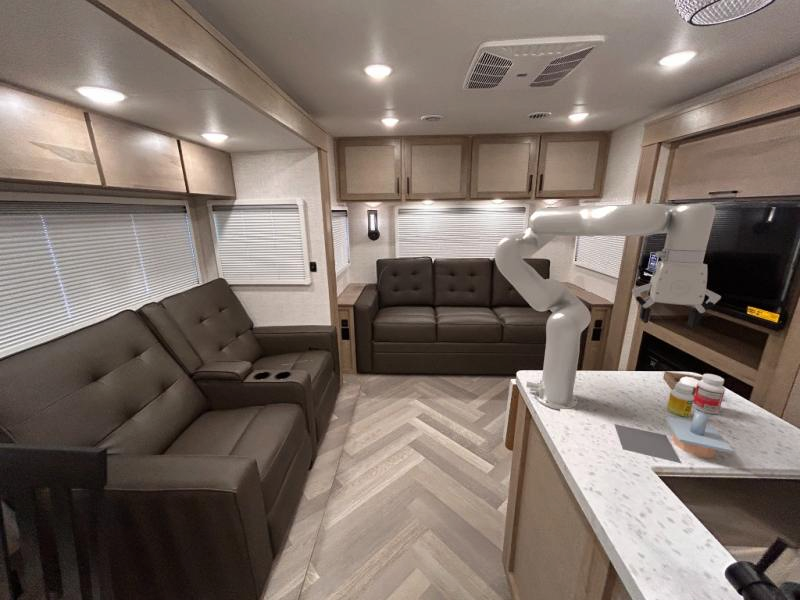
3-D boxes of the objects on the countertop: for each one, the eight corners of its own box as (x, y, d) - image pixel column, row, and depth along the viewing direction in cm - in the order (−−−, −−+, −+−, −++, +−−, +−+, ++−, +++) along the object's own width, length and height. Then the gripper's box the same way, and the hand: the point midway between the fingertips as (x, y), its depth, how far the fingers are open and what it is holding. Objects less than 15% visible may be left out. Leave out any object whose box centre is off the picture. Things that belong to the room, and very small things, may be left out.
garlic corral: (674, 392, 107) (675, 385, 106) (663, 378, 117) (664, 371, 116) (715, 400, 103) (718, 392, 102) (700, 384, 112) (703, 376, 112)
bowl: (679, 454, 79) (682, 440, 78) (667, 435, 87) (671, 421, 85) (720, 464, 76) (725, 449, 75) (705, 443, 83) (709, 429, 82)
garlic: (675, 381, 115) (677, 372, 114) (699, 386, 112) (702, 376, 111) (680, 391, 108) (682, 381, 107) (706, 397, 105) (709, 387, 104)
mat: (622, 451, 81) (622, 449, 80) (613, 426, 90) (614, 424, 90) (681, 466, 76) (681, 463, 76) (665, 437, 86) (665, 435, 85)
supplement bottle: (669, 407, 99) (676, 380, 97) (691, 415, 95) (699, 387, 92) (663, 412, 96) (669, 385, 94) (685, 422, 92) (693, 393, 90)
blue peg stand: (679, 441, 78) (684, 420, 76) (665, 418, 87) (670, 399, 85) (732, 453, 74) (739, 431, 72) (712, 427, 83) (718, 407, 81)
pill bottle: (701, 402, 102) (709, 371, 99) (723, 413, 96) (733, 381, 93) (686, 404, 101) (694, 373, 98) (708, 415, 95) (717, 383, 92)
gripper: (643, 257, 75) (630, 324, 80) (739, 260, 69) (718, 333, 73) (635, 254, 82) (623, 315, 86) (721, 257, 75) (704, 323, 80)
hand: (667, 323), depth 80 cm, fingers open, 9 cm apart
